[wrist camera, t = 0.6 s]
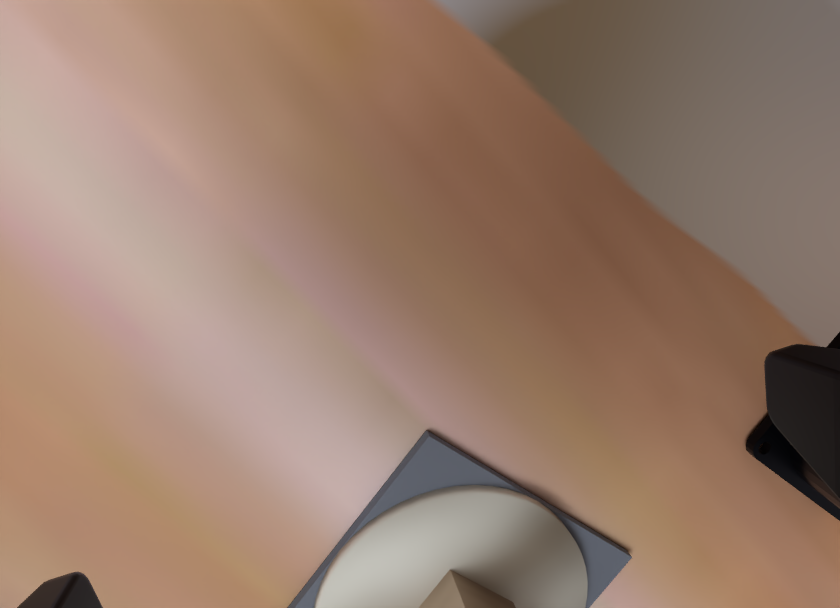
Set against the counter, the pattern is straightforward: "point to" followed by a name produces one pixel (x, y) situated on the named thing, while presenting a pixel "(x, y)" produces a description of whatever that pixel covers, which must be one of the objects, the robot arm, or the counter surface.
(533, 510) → the lid
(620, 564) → the mat
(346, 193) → the counter surface
